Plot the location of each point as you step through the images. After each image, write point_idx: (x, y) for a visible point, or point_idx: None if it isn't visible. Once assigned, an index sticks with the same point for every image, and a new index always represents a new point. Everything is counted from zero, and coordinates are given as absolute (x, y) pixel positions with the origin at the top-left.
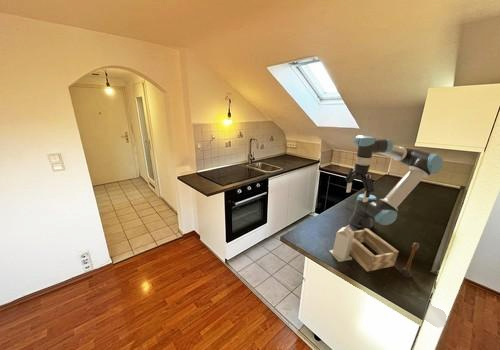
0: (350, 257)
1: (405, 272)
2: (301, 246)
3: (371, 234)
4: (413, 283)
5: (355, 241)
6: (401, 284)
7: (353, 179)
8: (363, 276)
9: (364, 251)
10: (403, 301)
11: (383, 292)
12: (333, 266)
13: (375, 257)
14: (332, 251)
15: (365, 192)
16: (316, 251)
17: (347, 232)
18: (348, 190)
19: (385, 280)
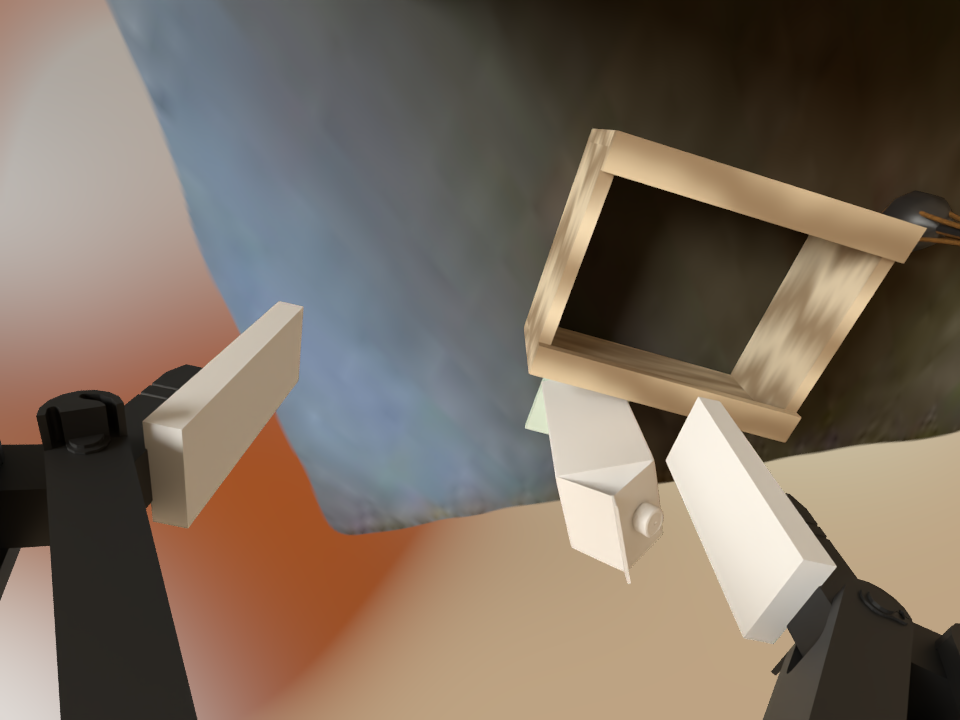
0: None
1: (925, 247)
2: (424, 509)
3: (685, 196)
4: (954, 253)
5: (647, 397)
6: (898, 318)
7: (162, 595)
8: None
9: None
10: (918, 408)
11: (835, 434)
12: None
13: (797, 406)
14: (540, 421)
15: (760, 629)
16: (491, 477)
17: (639, 536)
18: (283, 379)
19: None
